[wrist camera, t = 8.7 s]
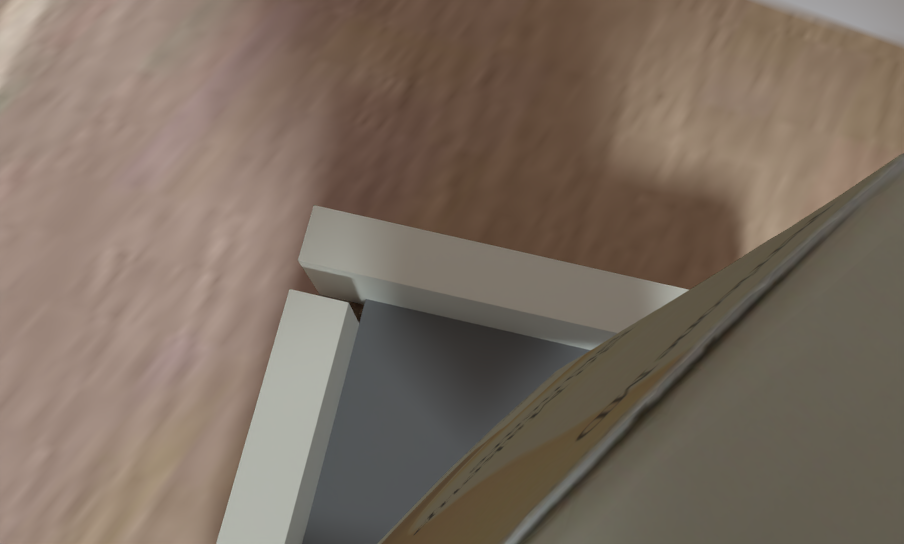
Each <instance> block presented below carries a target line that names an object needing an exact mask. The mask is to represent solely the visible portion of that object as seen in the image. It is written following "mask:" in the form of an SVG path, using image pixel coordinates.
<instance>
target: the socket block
mask: <svg viewBox="0 0 904 544" xmlns="http://www.w3.org/2000/svg"><path fill="white" fill-rule="evenodd" d="M298 261H299V263H300V265H301V266H302V268H303V269H304V271H305V272H306V274H307V275H308V277H309V278H310V280H311V282H312V283H313V285H314V286H315V288H316V289H317V291H318V292H319V294H320V295H323V296H328V297H332V298H337V299H341V300H345V301H350V302H354V303H359V304H363V305H364V307H363V311H362V315H361V319H360V323H359V322H358V320H357V318H356V316H355V314H354V312H353V310H352V308H351V306H350V304H349V302H344V301H340V300H336V299H331V298H327V297H322V296H318V295H314V294H309V293H305V292H301V291H296V290H292V289H289V293H288V296H287V300H286V303H285V307H284V310H283V314H282V317H281V321H280V324H279V328H278V331H277V334H276V338H275V341H274V345H273V348H272V352H271V355H270V359H269V362H268V366H267V369H266V373H265V376H264V380H263V383H262V387H261V390H260V394H259V397H258V400H257V404H256V407H255V411H254V414H253V418H252V421H251V425H250V428H249V432H248V435H247V439H246V442H245V446H244V449H243V453H242V456H241V459H240V463H239V466H238V470H237V473H236V477H235V480H234V484H233V487H232V491H231V494H230V498H229V501H228V505H227V508H226V512H225V515H224V518H223V522H222V525H221V529H220V532H219V536H218V539H217V543H216V544H377V543H378V542H379V541H380V540H381V539H382V538H383V537H384V536H385V535H386V534H387V533H388V532H389V531H390V530H391V529H392V528H393V527H394V526H395V525H396V524H397V523H398V522H399V521H400V520H401V519H402V518H403V517H404V516H405V514H406V513H407V512H408V511H409V510H410V509H411V508H412V507H413V506H414V505H415V504H416V503H417V502H418V501H419V500H420V499H421V498H422V497H423V496H424V495H425V494H426V493H427V492H428V491H429V490H430V489H431V488H432V487H433V486H434V485H435V484H436V483H437V482H438V480H439V479H440V478H441V477H442V476H443V475H444V474H445V473H446V472H447V471H448V470H449V469H450V468H451V467H452V466H453V465H454V464H456V463H457V462H458V461H459V460H460V459H461V458H462V457H463V456H464V455H465V454H466V453H467V452H468V451H469V450H470V449H471V448H472V447H473V446H475V445H476V444H477V443H478V442H479V441H480V440H481V439H482V438H483V437H484V436H485V435H486V434H487V433H488V432H489V431H490V430H491V429H493V428H494V427H495V426H496V425H497V424H498V423H499V422H500V421H501V420H502V419H503V418H504V417H506V416H507V415H508V414H509V413H510V412H511V411H512V410H513V409H514V408H515V407H516V406H518V405H519V404H520V403H521V402H522V401H523V400H524V399H525V398H527V397H528V396H529V395H530V394H531V393H532V392H533V391H535V390H536V389H537V388H538V387H539V386H540V385H541V384H542V383H543V382H545V381H546V380H547V379H548V378H549V377H550V376H551V375H552V374H553V373H555V372H556V371H557V370H559V369H560V368H562V367H564V366H565V365H567V364H568V363H570V362H572V361H574V360H575V359H577V358H579V357H580V356H582V355H584V354H585V353H587V352H589V351H590V350H592V349H594V348H596V347H597V346H599V345H600V344H602V343H604V342H605V341H607V340H608V339H610V338H611V337H613V336H615V335H616V334H618V333H619V332H621V331H622V330H624V329H626V328H627V327H629V326H631V325H632V324H634V323H636V322H637V321H639V320H641V319H642V318H644V317H646V316H647V315H649V314H651V313H652V312H654V311H656V310H657V309H659V308H661V307H662V306H664V305H666V304H667V303H669V302H670V301H672V300H674V299H675V298H677V297H679V296H680V295H682V294H684V293H685V292H687V291H688V289H684V288H679V287H675V286H670V285H666V284H661V283H657V282H653V281H648V280H644V279H639V278H635V277H630V276H626V275H622V274H617V273H613V272H608V271H604V270H599V269H595V268H591V267H586V266H582V265H577V264H573V263H568V262H564V261H560V260H555V259H551V258H546V257H542V256H537V255H533V254H529V253H524V252H520V251H515V250H511V249H506V248H502V247H498V246H493V245H489V244H484V243H480V242H475V241H471V240H467V239H462V238H458V237H453V236H449V235H444V234H440V233H436V232H431V231H427V230H422V229H418V228H413V227H409V226H405V225H400V224H396V223H391V222H387V221H383V220H378V219H374V218H369V217H365V216H360V215H356V214H352V213H347V212H343V211H338V210H334V209H329V208H325V207H321V206H316V205H314V206H313V209H312V213H311V216H310V220H309V223H308V227H307V230H306V234H305V237H304V241H303V244H302V248H301V251H300V255H299V258H298Z"/></svg>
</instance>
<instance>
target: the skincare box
mask: <svg viewBox="0 0 904 544" xmlns="http://www.w3.org/2000/svg"><path fill="white" fill-rule="evenodd" d="M377 544H904V153H903V154H901V155H899V156H898V157H896V158H895V159H893V160H892V161H890V162H889V163H887V164H886V165H885V166H883V167H882V168H880V169H879V170H877V171H876V172H874V173H873V174H871V175H870V176H868V177H867V178H865V179H864V180H862V181H861V182H859V183H858V184H856V185H855V186H854V187H852V188H851V189H849V190H848V191H846V192H845V193H843V194H842V195H840V196H838V197H837V198H835V199H834V200H832V201H831V202H829V203H827V204H826V205H824V206H823V207H821V208H819V209H818V210H816V211H815V212H813V213H812V214H810V215H808V216H807V217H805V218H804V219H802V220H801V221H799V222H798V223H796V224H795V225H793V226H792V227H790V228H789V229H787V230H785V231H783V232H782V233H780V234H778V235H776V236H775V237H773V238H771V239H770V240H768V241H766V242H765V243H763V244H762V245H760V246H759V247H757V248H756V249H754V250H752V251H751V252H749V253H748V254H746V255H745V256H743V257H741V258H740V259H738V260H737V261H735V262H734V263H732V264H731V265H729V266H727V267H726V268H724V269H722V270H721V271H719V272H718V273H716V274H714V275H713V276H711V277H710V278H708V279H706V280H705V281H703V282H701V283H700V284H698V285H697V286H695V287H693V288H692V289H690V290H688V291H687V292H685V293H684V294H682V295H680V296H679V297H677V298H675V299H674V300H672V301H670V302H669V303H667V304H666V305H664V306H662V307H661V308H659V309H657V310H656V311H654V312H652V313H651V314H649V315H647V316H646V317H644V318H642V319H641V320H639V321H637V322H636V323H634V324H632V325H631V326H629V327H627V328H626V329H624V330H622V331H621V332H619V333H618V334H616V335H615V336H613V337H611V338H610V339H608V340H607V341H605V342H604V343H602V344H600V345H599V346H597V347H596V348H594V349H592V350H590V351H589V352H587V353H585V354H584V355H582V356H580V357H579V358H577V359H575V360H574V361H572V362H570V363H568V364H567V365H565V366H564V367H562V368H560V369H559V370H557V371H556V372H555V373H553V374H552V375H551V376H550V377H549V378H548V379H547V380H546V381H545V382H543V383H542V384H541V385H540V386H539V387H538V388H537V389H536V390H535V391H533V392H532V393H531V394H530V395H529V396H528V397H527V398H525V399H524V400H523V401H522V402H521V403H520V404H519V405H518V406H516V407H515V408H514V409H513V410H512V411H511V412H510V413H509V414H508V415H507V416H506V417H504V418H503V419H502V420H501V421H500V422H499V423H498V424H497V425H496V426H495V427H494V428H493V429H491V430H490V431H489V432H488V433H487V434H486V435H485V436H484V437H483V438H482V439H481V440H480V441H479V442H478V443H477V444H476V445H475V446H473V447H472V448H471V449H470V450H469V451H468V452H467V453H466V454H465V455H464V456H463V457H462V458H461V459H460V460H459V461H458V462H457V463H456V464H454V465H453V466H452V467H451V468H450V469H449V470H448V471H447V472H446V473H445V474H444V475H443V476H442V477H441V478H440V479H439V480H438V482H437V483H436V484H435V485H434V486H433V487H432V488H431V489H430V490H429V491H428V492H427V493H426V494H425V495H424V496H423V497H422V498H421V499H420V500H419V501H418V502H417V503H416V504H415V505H414V506H413V507H412V508H411V509H410V510H409V511H408V512H407V513H406V514H405V516H404V517H403V518H402V519H401V520H400V521H399V522H398V523H397V524H396V525H395V526H394V527H393V528H392V529H391V530H390V531H389V532H388V533H387V534H386V535H385V536H384V537H383V538H382V539H381V540H380V541H379V542H378V543H377Z"/></svg>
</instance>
